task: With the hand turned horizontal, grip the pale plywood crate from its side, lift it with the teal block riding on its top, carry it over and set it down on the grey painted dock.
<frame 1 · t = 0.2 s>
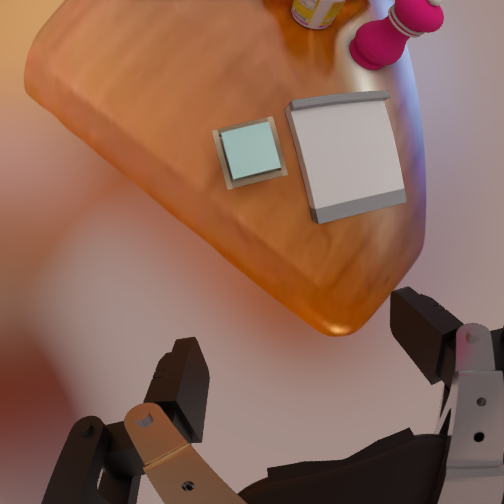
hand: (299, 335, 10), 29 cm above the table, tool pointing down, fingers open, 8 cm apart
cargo: (249, 153, 24), point 12 cm above the table, touching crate
pepper mill: (366, 54, 32), on the table
supplement bottle: (310, 16, 31), on the table
dock: (345, 155, 36), on the table
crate: (245, 162, 36), on the table, touching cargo
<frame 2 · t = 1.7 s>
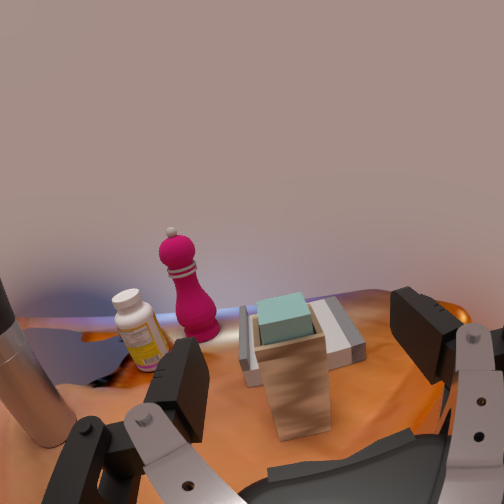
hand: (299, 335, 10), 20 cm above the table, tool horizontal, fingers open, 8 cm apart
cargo: (287, 336, 23), point 12 cm above the table, touching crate
pepper mill: (203, 333, 49), on the table
supplement bottle: (155, 362, 43), on the table
dock: (299, 345, 40), on the table
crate: (301, 418, 27), on the table, touching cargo
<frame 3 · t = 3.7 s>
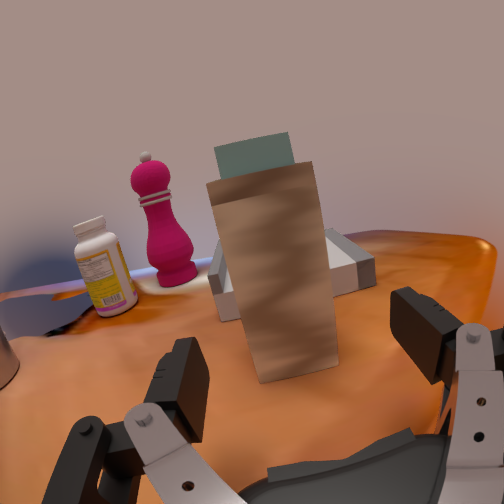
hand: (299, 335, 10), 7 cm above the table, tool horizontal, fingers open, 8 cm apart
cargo: (260, 190, 17), point 12 cm above the table, touching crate
pepper mill: (178, 279, 43), on the table
supplement bottle: (118, 308, 36), on the table
dock: (290, 278, 33), on the table
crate: (293, 352, 20), on the table, touching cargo
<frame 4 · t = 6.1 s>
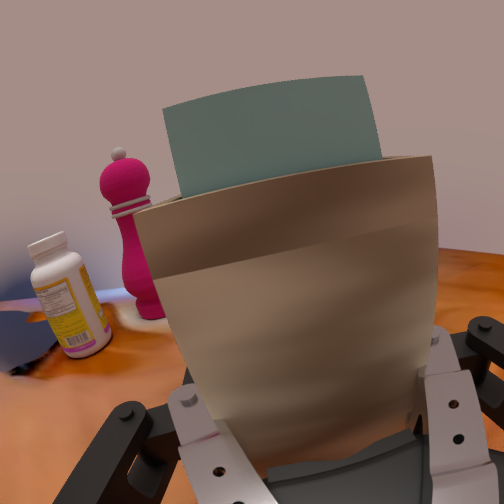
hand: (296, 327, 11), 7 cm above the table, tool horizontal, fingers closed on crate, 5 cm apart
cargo: (284, 218, 7), point 12 cm above the table, touching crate
pepper mill: (163, 308, 33), on the table
supplement bottle: (89, 345, 27), on the table
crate: (320, 459, 11), on the table, touching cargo, gripper
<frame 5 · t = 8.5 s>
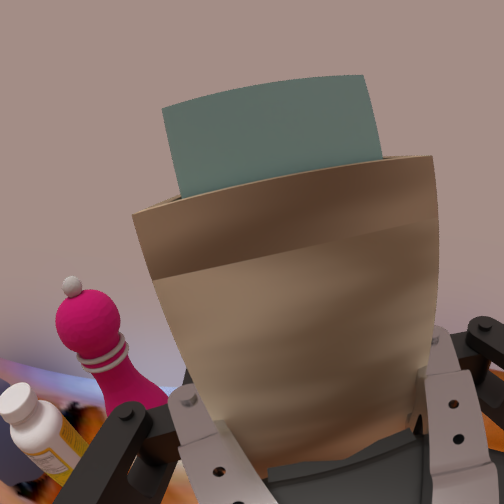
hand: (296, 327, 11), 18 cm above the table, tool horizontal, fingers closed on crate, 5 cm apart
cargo: (284, 218, 7), point 23 cm above the table, touching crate
pepper mill: (159, 438, 25), on the table
supplement bottle: (88, 478, 18), on the table
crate: (320, 460, 11), point 11 cm above the table, touching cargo, gripper
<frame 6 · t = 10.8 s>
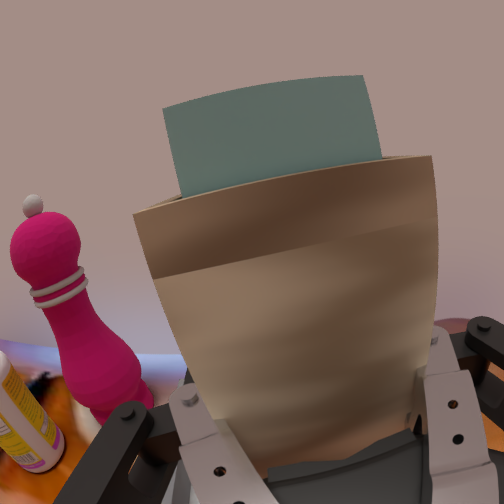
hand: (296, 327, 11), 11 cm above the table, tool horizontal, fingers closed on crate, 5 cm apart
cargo: (284, 218, 7), point 16 cm above the table, touching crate
pepper mill: (126, 409, 21), on the table
supplement bottle: (43, 452, 14), on the table
dock: (322, 481, 12), on the table
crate: (320, 459, 11), point 4 cm above the table, touching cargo, gripper
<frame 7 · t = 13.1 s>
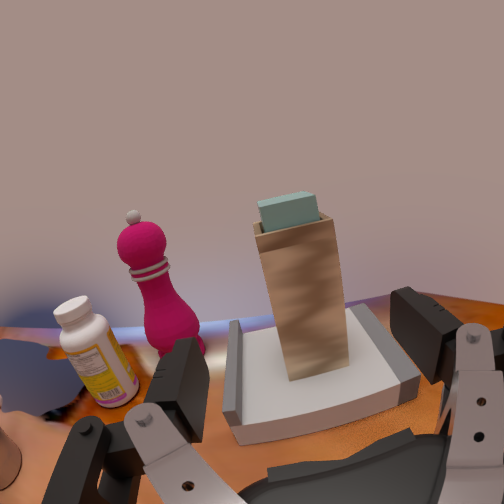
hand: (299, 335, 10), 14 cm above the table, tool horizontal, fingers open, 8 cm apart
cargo: (291, 235, 22), point 15 cm above the table, touching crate
pepper mill: (184, 356, 35), on the table
supplement bottle: (118, 393, 29), on the table
dock: (316, 377, 26), on the table
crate: (313, 356, 25), point 3 cm above the table, touching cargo, dock
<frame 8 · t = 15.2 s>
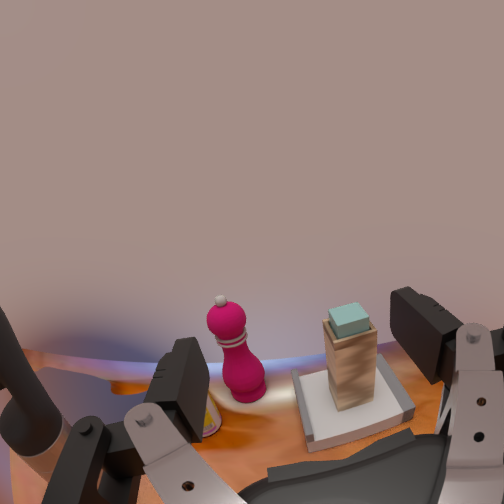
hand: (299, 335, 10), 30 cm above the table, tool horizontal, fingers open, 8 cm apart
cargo: (349, 332, 33), point 15 cm above the table, touching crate
pepper mill: (249, 391, 46), on the table
supplement bottle: (204, 425, 40), on the table
dock: (350, 405, 37), on the table
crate: (350, 394, 36), point 3 cm above the table, touching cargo, dock
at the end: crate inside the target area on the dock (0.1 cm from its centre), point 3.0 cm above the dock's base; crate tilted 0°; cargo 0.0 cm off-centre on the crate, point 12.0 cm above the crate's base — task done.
